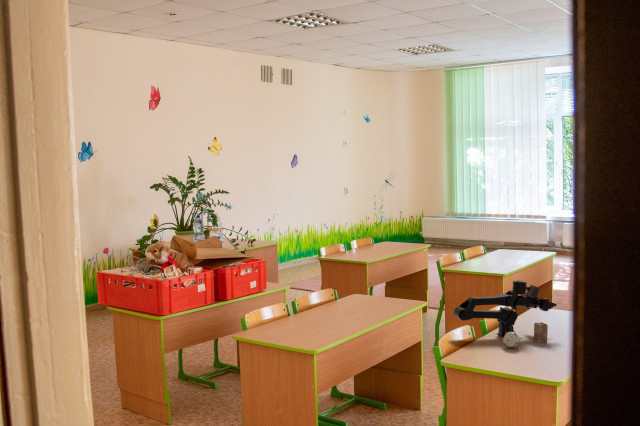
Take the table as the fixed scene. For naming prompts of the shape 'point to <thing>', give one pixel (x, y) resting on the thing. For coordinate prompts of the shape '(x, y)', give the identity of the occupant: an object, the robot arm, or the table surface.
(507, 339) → the game die
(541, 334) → the brown rectangular block
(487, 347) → the table surface
